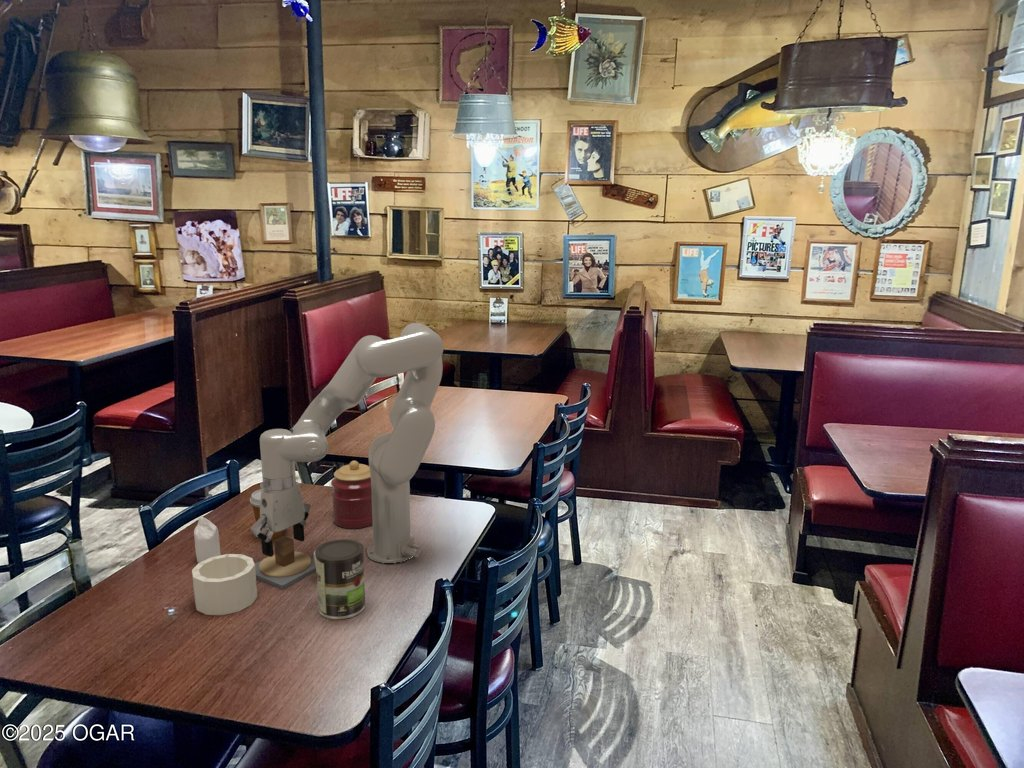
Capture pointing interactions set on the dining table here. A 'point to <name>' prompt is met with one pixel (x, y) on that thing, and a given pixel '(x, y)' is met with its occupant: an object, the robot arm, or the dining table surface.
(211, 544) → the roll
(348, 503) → the canister
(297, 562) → the lid
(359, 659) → the dining table surface
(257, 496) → the disposable coffee cup
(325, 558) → the coffee can
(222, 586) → the bowl
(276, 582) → the mat
